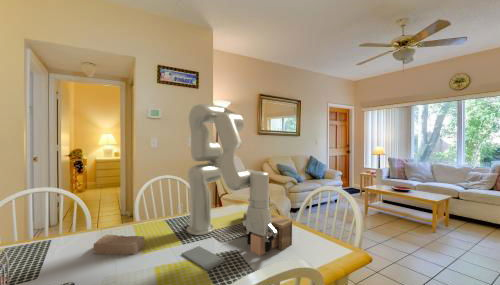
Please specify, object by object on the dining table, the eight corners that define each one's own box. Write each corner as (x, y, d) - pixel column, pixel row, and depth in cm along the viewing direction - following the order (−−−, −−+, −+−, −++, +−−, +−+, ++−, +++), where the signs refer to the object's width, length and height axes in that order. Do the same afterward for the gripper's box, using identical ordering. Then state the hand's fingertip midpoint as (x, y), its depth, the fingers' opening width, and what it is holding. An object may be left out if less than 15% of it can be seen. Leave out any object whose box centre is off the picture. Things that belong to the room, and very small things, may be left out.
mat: (181, 254, 91) (181, 253, 91) (198, 247, 96) (198, 246, 96) (207, 271, 80) (207, 269, 80) (225, 261, 86) (225, 260, 86)
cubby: (243, 235, 108) (243, 213, 108) (254, 230, 113) (254, 209, 113) (282, 250, 94) (282, 225, 94) (291, 244, 99) (292, 220, 99)
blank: (250, 251, 94) (250, 233, 94) (269, 241, 103) (269, 225, 102) (260, 255, 90) (260, 237, 90) (278, 245, 99) (279, 228, 99)
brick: (145, 245, 99) (145, 234, 99) (135, 255, 90) (135, 243, 90) (106, 245, 99) (105, 234, 99) (92, 255, 91) (92, 243, 90)
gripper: (236, 201, 96) (236, 243, 96) (271, 210, 84) (271, 258, 85) (249, 197, 101) (249, 237, 102) (283, 205, 90) (282, 251, 90)
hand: (259, 247), depth 93 cm, fingers open, 8 cm apart
